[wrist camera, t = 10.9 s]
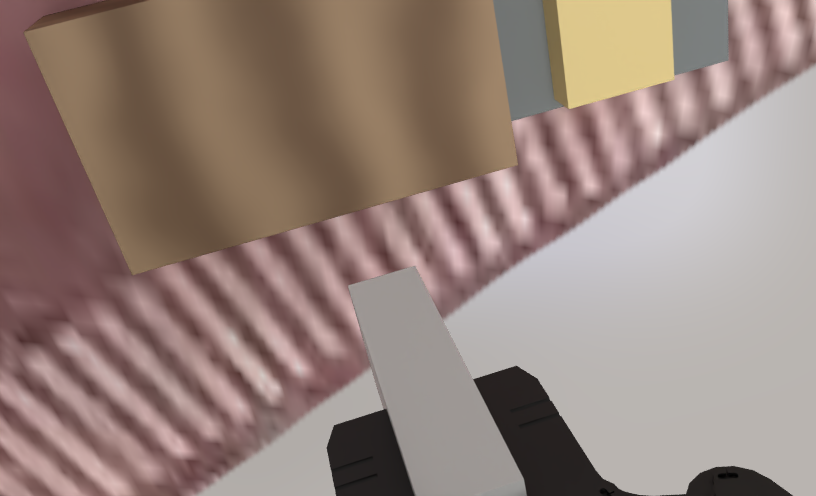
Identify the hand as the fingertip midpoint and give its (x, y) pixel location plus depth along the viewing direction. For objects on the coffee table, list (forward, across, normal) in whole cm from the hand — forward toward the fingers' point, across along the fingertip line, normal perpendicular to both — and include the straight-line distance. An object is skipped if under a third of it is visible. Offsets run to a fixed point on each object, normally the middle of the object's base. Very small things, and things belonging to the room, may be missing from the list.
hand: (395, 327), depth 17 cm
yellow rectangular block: (+22, +16, -1) cm, 28 cm away
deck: (+25, 0, -1) cm, 25 cm away
